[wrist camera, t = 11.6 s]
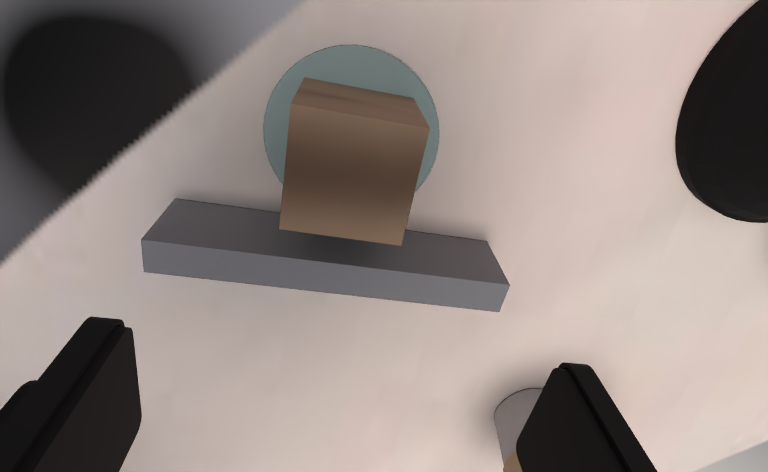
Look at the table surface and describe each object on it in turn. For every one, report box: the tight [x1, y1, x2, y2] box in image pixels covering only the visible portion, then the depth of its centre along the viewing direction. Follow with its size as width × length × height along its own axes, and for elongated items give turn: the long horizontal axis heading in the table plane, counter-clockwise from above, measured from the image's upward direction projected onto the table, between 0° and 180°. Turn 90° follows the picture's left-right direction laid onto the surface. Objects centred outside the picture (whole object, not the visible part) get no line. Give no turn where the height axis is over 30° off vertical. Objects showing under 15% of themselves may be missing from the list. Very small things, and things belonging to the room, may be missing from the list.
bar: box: [141, 199, 510, 312], centre depth 27 cm, size 2×20×5 cm, turn 79°
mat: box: [264, 45, 439, 191], centre depth 26 cm, size 10×10×1 cm
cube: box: [279, 77, 430, 246], centre depth 23 cm, size 6×6×6 cm
